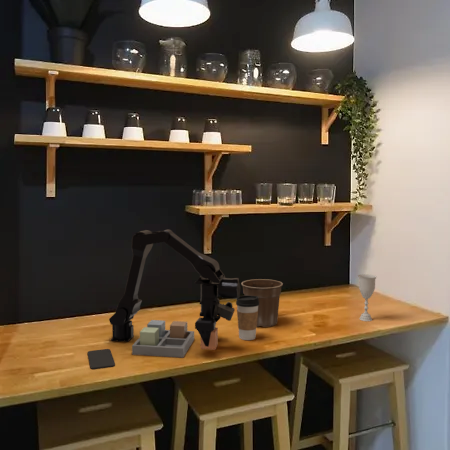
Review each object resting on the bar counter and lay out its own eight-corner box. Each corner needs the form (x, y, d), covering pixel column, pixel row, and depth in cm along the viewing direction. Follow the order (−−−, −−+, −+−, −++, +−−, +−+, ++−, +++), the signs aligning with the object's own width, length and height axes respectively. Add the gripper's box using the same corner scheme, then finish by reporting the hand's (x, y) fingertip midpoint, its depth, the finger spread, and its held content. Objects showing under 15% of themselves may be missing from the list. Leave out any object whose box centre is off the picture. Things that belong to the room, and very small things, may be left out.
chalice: (355, 320, 186) (357, 276, 184) (357, 316, 192) (358, 273, 191) (374, 322, 183) (376, 278, 182) (375, 318, 190) (377, 275, 188)
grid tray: (132, 354, 149) (131, 333, 148) (148, 337, 166) (147, 318, 165) (183, 357, 147) (183, 336, 146) (194, 339, 163) (194, 320, 163)
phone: (110, 348, 153) (115, 364, 139) (110, 350, 154) (115, 367, 140) (87, 351, 151) (90, 368, 137) (87, 353, 151) (90, 370, 137)
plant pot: (232, 323, 183) (232, 283, 181) (258, 314, 194) (258, 276, 193) (265, 332, 172) (265, 289, 170) (290, 322, 183) (290, 282, 182)
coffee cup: (252, 343, 160) (252, 300, 158) (231, 338, 164) (231, 297, 163) (263, 336, 167) (263, 295, 166) (242, 332, 172) (243, 292, 170)
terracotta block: (200, 348, 154) (200, 331, 154) (203, 343, 159) (203, 326, 159) (215, 349, 154) (215, 332, 153) (217, 344, 159) (217, 327, 158)
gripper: (229, 305, 145) (229, 353, 146) (236, 291, 163) (235, 334, 164) (194, 303, 146) (194, 351, 148) (205, 290, 165) (205, 332, 166)
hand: (209, 341), depth 156 cm, fingers open, 8 cm apart
